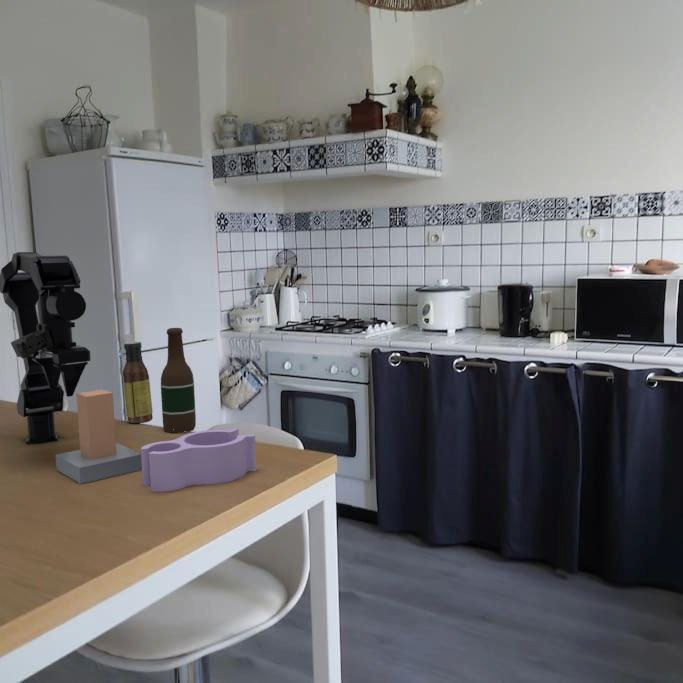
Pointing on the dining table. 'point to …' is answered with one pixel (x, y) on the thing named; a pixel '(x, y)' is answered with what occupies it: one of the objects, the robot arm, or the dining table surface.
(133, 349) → the sauce bottle
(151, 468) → the clip
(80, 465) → the plate
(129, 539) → the dining table surface
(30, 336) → the robot arm
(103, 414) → the tan block
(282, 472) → the dining table surface
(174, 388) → the beer bottle
